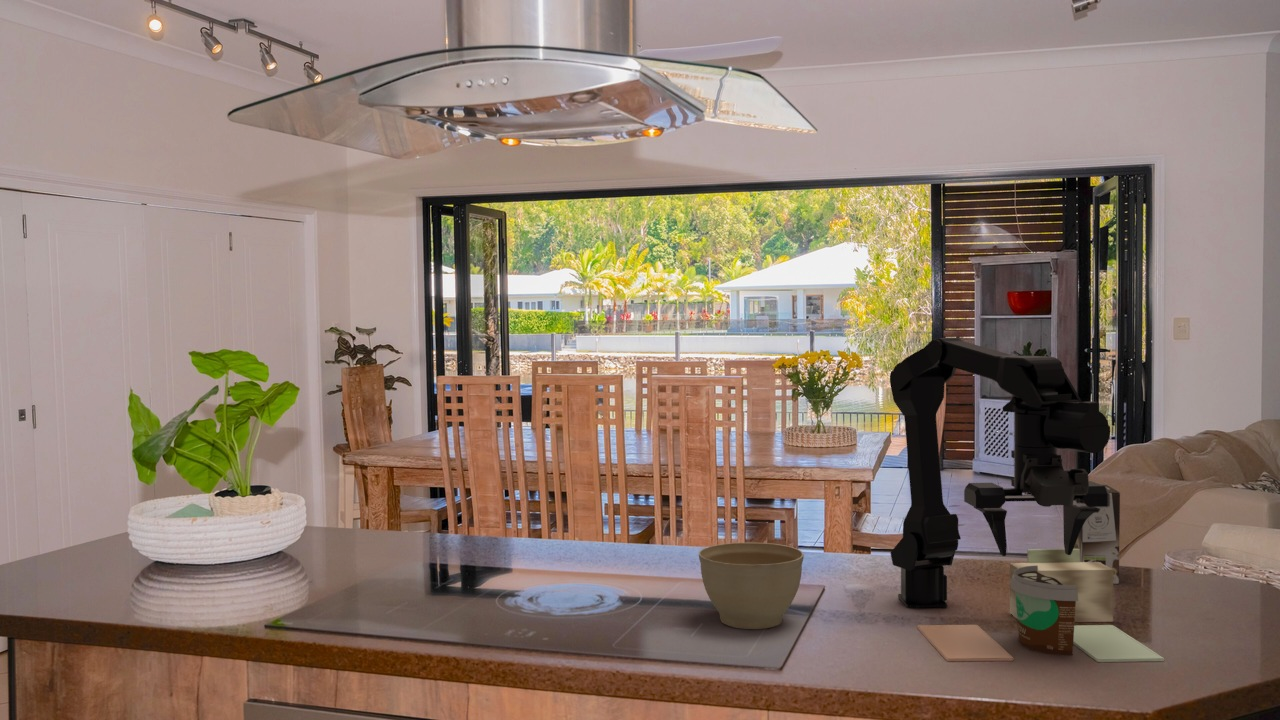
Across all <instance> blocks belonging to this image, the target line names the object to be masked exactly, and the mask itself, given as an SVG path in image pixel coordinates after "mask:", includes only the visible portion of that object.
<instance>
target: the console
mask: <svg viewBox="0 0 1280 720" xmlns="http://www.w3.org/2000/svg"><path fill="white" fill-rule="evenodd" d="M1026 555H1027V556H1026V557H1027V560H1026V561H1027V562H1010V563H1009V585H1010V584H1011V580H1012V576H1013V574H1014V572H1015V570H1016V569H1018V568H1021V567H1026V566H1036V565H1037V566H1038V572H1039V573H1040V574H1042V575H1044V576H1047V577H1052V578H1055V579H1057V580H1058V581H1059V582H1060V583H1061V584H1063V585H1076V590H1077V592H1078V601H1076V605H1075V622H1074V623H1102V622H1103V623H1105V622H1106V623H1108V622H1110V623H1111V622H1112V623H1113V622H1114V584H1113V577H1114V570H1113V569H1111V568H1109V567H1107V566H1106V565H1104V564H1102V563H1100V562H1080V549H1073V551H1072V554H1071V555H1067V554H1066V553H1065V548H1039V549H1038V548H1037V549H1036V548H1035V549H1034V548H1033V549H1032V548H1030V549H1027V554H1026ZM1011 614H1012V615H1013V616H1012V615H1011ZM1009 615H1011V616H1012V617H1014V618H1015V619H1016V620H1017V608H1016V594H1015V591H1014V590H1013V589H1012V588H1011V587H1010V586H1009Z"/></svg>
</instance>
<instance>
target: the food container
mask: <svg viewBox="0 0 1280 720" xmlns="http://www.w3.org/2000/svg"><path fill="white" fill-rule="evenodd" d="M1010 587H1011V588H1012V589H1013V590H1014V591H1015V594H1016V608H1017V619H1016V621H1017V630H1018V631H1017V633H1018V642H1019V644H1020V645H1021V646H1022V647H1023V648H1025V649H1028V650H1030V651H1034V652H1037V653H1038V652H1039V653H1043V654H1048V655H1057V656H1058V655H1059V656H1073V652H1074V644H1073V639H1074V625H1075V623H1076V622H1075V605H1076V601H1078V592H1077V590H1076V585H1063V584H1061V583H1060V582H1059V581H1058V580H1057V579H1055V578H1052V577H1047V576H1044V575H1042V574H1040V573H1039V572H1038V566H1037V565H1036V566H1026V567H1021V568H1018V569H1016V570H1015V572H1014V574H1013V576H1012V580H1011V584H1010V583H1009V588H1010Z"/></svg>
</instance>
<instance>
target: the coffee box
mask: <svg viewBox="0 0 1280 720" xmlns="http://www.w3.org/2000/svg"><path fill="white" fill-rule="evenodd" d="M1102 485H1103V486H1105V487H1106V488H1107V489H1108V491H1109V494H1110V506H1108V507H1097V508H1099V509H1100V511H1099V512H1098V513H1093V514H1092V515H1091V516H1090V517H1088V518H1087V520H1086V521H1085V523H1084V525H1083V527H1082V529H1081V531H1080V533H1079V536H1078V538H1077V541H1076V543H1075V546H1074V548H1073V549H1080V562H1100V563H1102V564H1104V565H1106V566H1107V567H1109V568H1111V569H1113V570H1114V577H1113V585H1118V584H1120V529H1121V528H1120V526H1121V525H1120V523H1121V522H1120V520H1121V519H1120V518H1121V517H1120V515H1121V492H1120V491H1118V490H1116V489H1114V488H1113V487H1111V486H1109V485H1108V484H1102Z"/></svg>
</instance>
